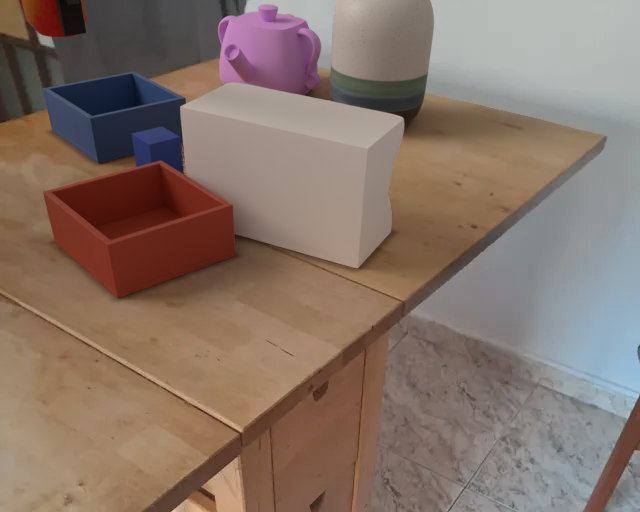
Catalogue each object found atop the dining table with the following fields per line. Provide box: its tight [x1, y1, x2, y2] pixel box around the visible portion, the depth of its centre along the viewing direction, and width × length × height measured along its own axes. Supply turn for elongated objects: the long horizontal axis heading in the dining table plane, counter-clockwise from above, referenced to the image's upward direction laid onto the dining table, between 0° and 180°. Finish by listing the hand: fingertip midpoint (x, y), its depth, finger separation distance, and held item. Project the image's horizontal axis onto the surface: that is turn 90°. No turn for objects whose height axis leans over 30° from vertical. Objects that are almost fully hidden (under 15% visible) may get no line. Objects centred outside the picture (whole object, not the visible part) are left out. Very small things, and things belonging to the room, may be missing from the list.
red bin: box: [42, 160, 237, 299], centre depth 85 cm, size 17×17×7 cm
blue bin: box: [42, 71, 187, 164], centre depth 113 cm, size 17×17×7 cm
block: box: [132, 127, 185, 175], centre depth 100 cm, size 5×5×7 cm
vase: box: [329, 0, 435, 126], centre depth 117 cm, size 17×17×24 cm
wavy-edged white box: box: [180, 82, 405, 270], centre depth 91 cm, size 25×18×15 cm
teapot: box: [217, 3, 322, 96], centre depth 130 cm, size 19×21×14 cm
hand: (57, 25), depth 86 cm, fingers closed on apple, 8 cm apart
